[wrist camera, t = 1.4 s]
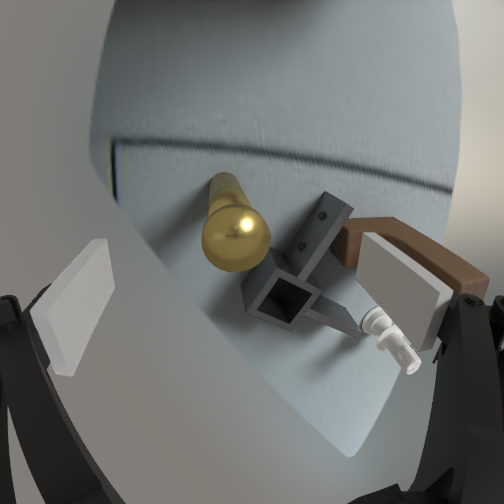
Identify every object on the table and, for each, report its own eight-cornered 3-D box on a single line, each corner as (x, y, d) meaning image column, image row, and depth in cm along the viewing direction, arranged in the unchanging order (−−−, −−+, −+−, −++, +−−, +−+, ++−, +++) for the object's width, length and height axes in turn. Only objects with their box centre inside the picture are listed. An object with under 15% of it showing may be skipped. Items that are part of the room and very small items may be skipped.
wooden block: (330, 253, 37) (407, 342, 20) (332, 218, 35) (421, 293, 18) (389, 247, 38) (477, 320, 21) (393, 215, 36) (492, 277, 19)
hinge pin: (206, 169, 31) (200, 208, 15) (242, 169, 31) (272, 207, 16) (206, 204, 32) (202, 273, 17) (241, 203, 33) (268, 271, 17)
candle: (357, 334, 43) (391, 388, 32) (368, 304, 41) (409, 357, 30) (384, 333, 44) (420, 382, 33) (395, 305, 42) (438, 352, 31)
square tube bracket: (308, 179, 33) (327, 190, 27) (393, 240, 37) (418, 258, 32) (240, 285, 37) (246, 312, 31) (330, 326, 41) (345, 352, 36)
